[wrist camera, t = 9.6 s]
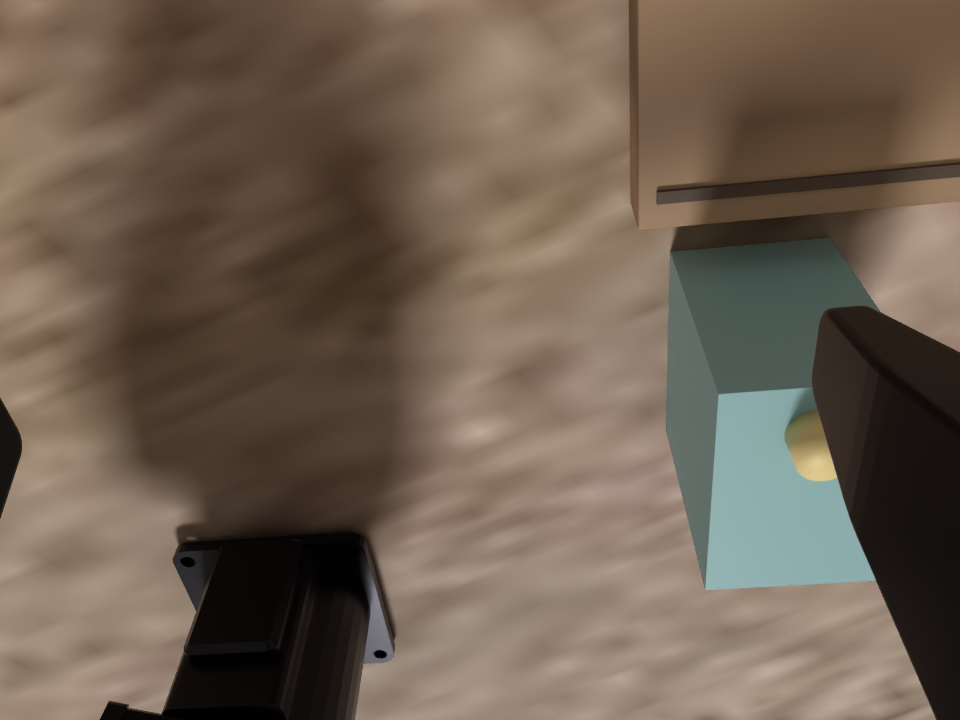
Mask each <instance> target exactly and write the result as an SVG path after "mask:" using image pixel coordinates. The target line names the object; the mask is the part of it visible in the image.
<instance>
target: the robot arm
mask: <svg viewBox="0 0 960 720" xmlns="http://www.w3.org/2000/svg"><path fill="white" fill-rule="evenodd" d="M812 390H813V395H814V399H815V403H816V406H817V410H818V413H819V417H820V420H821V423H822V427H823V430H824V434H825V437H826V441H827V444H828V448H829V451H830V454H831V458H832V461H833V465H834V468H835V472H836V475H837V479H838V482H839V486H840V489H841V492H842V496H843V499H844V502H845V505H846V509H847V512H848V515H849V518H850V521H851V523H852V526H853V528H854V531H855V533H856V536H857V538H858V540H859V543H860V545H861V547H862V550H863V552H864V554H865V557H866V559H867V561H868V563H869V566H870V568H871V570H872V573H873V575H874V577H875V580H876V582H877V584H878V586H879V589H880V591H881V593H882V596H883V598H884V600H885V603H886V605H887V607H888V609H889V612H890V614H891V616H892V619H893V621H894V623H895V626H896V628H897V630H898V632H899V635H900V637H901V639H902V642H903V644H904V646H905V649H906V651H907V653H908V655H909V658H910V660H911V662H912V665H913V667H914V669H915V672H916V674H917V676H918V678H919V681H920V683H921V685H922V688H923V690H924V692H925V695H926V697H927V699H928V701H929V704H930V706H931V708H932V711H933V713H934V715H935V718H936V720H960V352H958V351H956V350H954V349H952V348H950V347H948V346H946V345H944V344H942V343H940V342H938V341H936V340H934V339H932V338H930V337H928V336H926V335H924V334H922V333H920V332H918V331H916V330H914V329H912V328H910V327H908V326H906V325H904V324H902V323H900V322H898V321H897V320H895V319H893V318H891V317H889V316H887V315H885V314H883V313H881V312H879V311H877V310H875V309H873V308H871V307H868V306H862V305H860V306H848V307H836V308H829V309H827V310H826V311H825V312H824V313H823V314H822V316H821V319H820V322H819V328H818V335H817V342H816V349H815V356H814V362H813V369H812ZM21 453H22V440H21V436H20V433H19V431H18V429H17V427H16V425H15V423H14V421H13V420H12V418H11V416H10V414H9V413H8V411H7V409H6V407H5V405H4V404H3V402H2V400H1V398H0V518H1V515H2V512H3V509H4V506H5V503H6V500H7V497H8V494H9V491H10V487H11V484H12V481H13V478H14V475H15V472H16V469H17V466H18V463H19V460H20V457H21ZM349 547H353V548H349ZM173 563H174V565H175V567H176V569H177V572H178V574H179V576H180V578H181V580H182V582H183V584H184V586H185V588H186V590H187V593H188V595H189V597H190V599H191V601H192V603H193V605H194V607H195V609H196V614H195V617H194V620H193V623H192V626H191V628H190V631H189V634H188V637H187V640H186V642H185V645H184V652H183V655H182V658H181V661H180V664H179V667H178V669H177V672H176V675H175V678H174V681H173V683H172V686H171V689H170V692H169V695H168V698H167V700H166V703H165V706H164V709H163V712H162V714H158V713H153V712H148V711H142V710H137V709H132V708H128V707H129V704H124V703H118V702H113V701H109V702H108V704H107V706H106V708H105V710H104V712H103V714H102V716H101V718H100V720H355V715H356V708H357V702H358V695H359V689H360V682H361V675H362V669H363V664H366V663H384V662H388V661H390V660H392V658H393V657H394V650H395V643H394V639H393V635H392V632H391V628H390V625H389V621H388V617H387V614H386V610H385V606H384V603H383V599H382V595H381V592H380V588H379V584H378V581H377V577H376V573H375V570H374V566H373V562H372V559H371V555H370V551H369V548H368V544H367V541H366V539H365V538H364V537H363V536H361V535H360V534H357V533H350V532H348V533H332V534H316V535H300V536H285V537H269V538H253V539H237V540H221V541H205V542H189V543H183V544H181V545H179V546H178V547H177V550H176V552H175V555H174V557H173Z"/></svg>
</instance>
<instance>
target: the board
mask: <svg viewBox="0 0 960 720" xmlns="http://www.w3.org/2000/svg"><path fill="white" fill-rule="evenodd" d="M629 49H630V183H631V205H632V209H633V212H634V216H635V219H636V222H637V226H638V229H639V230H646V229H657V228H668V227H679V226H691V225H702V224H713V223H724V222H735V221H746V220H757V219H769V218H780V217H791V216H802V215H813V214H824V213H835V212H847V211H858V210H869V209H880V208H891V207H902V206H914V205H925V204H936V203H947V202H958V201H960V0H629Z"/></svg>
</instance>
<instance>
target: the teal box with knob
mask: <svg viewBox="0 0 960 720" xmlns="http://www.w3.org/2000/svg"><path fill="white" fill-rule="evenodd" d="M860 305H862V306H868V307H871V308H873V309H875V310H877V311H879V312H880V310H879V309H878V307H877V306H876V304H875V303H874V302H873V300H872V299H871V297H870V296H869V294H868V293H867V291H866V290H865V288H864V287H863V285H862V284H861V283H860V281H859V280H858V278H857V277H856V275H855V274H854V272H853V271H852V269H851V268H850V266H849V265H848V263H847V262H846V261H845V259H844V258H843V256H842V255H841V253H840V252H839V250H838V249H837V247H836V246H835V244H834V243H833V241H832V240H831V239H830V238H820V239H809V240H797V241H786V242H775V243H763V244H752V245H740V246H729V247H717V248H706V249H694V250H683V251H671V252H670V277H669V321H668V364H667V408H666V432H667V436H668V440H669V444H670V448H671V452H672V456H673V460H674V464H675V468H676V472H677V477H678V481H679V485H680V489H681V493H682V497H683V501H684V505H685V509H686V513H687V517H688V522H689V526H690V530H691V534H692V538H693V542H694V546H695V550H696V554H697V558H698V562H699V567H700V571H701V575H702V579H703V583H704V587H705V590H716V589H735V588H753V587H771V586H790V585H808V584H827V583H845V582H863V581H876V580H875V577H874V575H873V573H872V570H871V568H870V566H869V563H868V561H867V559H866V557H865V554H864V552H863V550H862V547H861V545H860V543H859V540H858V538H857V536H856V533H855V531H854V528H853V526H852V523H851V521H850V518H849V515H848V512H847V509H846V505H845V502H844V499H843V496H842V492H841V489H840V486H839V482H838V479H837V475H836V472H835V468H834V465H833V461H832V458H831V454H830V451H829V448H828V444H827V441H826V437H825V434H824V430H823V427H822V423H821V420H820V417H819V413H818V410H817V406H816V403H815V399H814V395H813V390H812V369H813V362H814V356H815V349H816V342H817V335H818V328H819V322H820V319H821V316H822V314H823V313H824V312H825V311H826V310H827V309H829V308H836V307H848V306H860Z"/></svg>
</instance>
